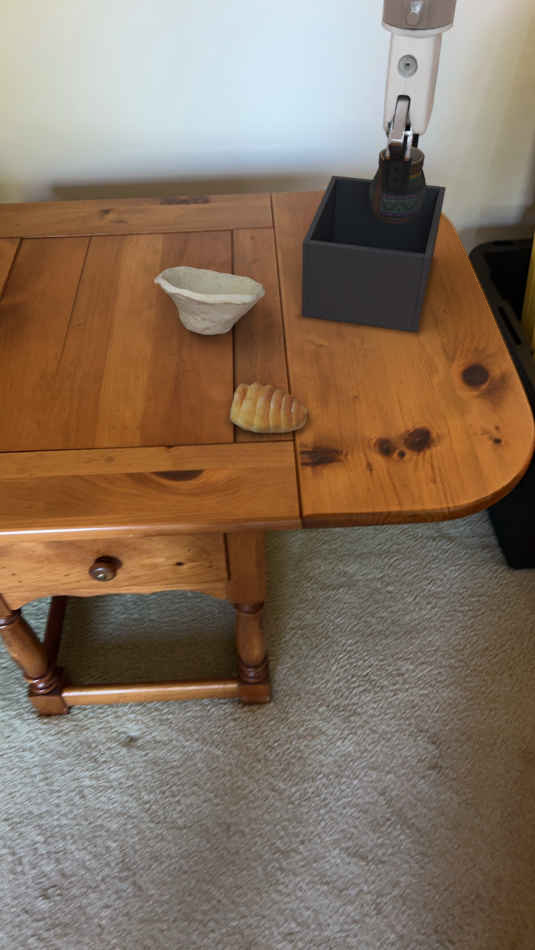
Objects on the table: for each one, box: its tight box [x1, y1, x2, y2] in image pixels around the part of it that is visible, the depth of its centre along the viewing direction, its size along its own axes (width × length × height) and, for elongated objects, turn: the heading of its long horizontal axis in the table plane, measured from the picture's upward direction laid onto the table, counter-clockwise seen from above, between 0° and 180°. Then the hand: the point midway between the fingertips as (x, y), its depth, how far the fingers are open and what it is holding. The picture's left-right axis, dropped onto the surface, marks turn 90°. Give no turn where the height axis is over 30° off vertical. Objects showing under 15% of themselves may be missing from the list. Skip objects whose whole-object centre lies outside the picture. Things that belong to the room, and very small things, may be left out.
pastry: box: [229, 381, 309, 434], centre depth 81 cm, size 9×7×4 cm
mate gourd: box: [369, 130, 427, 224], centre depth 83 cm, size 7×8×10 cm
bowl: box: [153, 265, 266, 336], centre depth 91 cm, size 15×14×10 cm
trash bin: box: [301, 175, 447, 333], centre depth 95 cm, size 17×19×12 cm
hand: (398, 176), depth 83 cm, fingers closed on mate gourd, 6 cm apart
